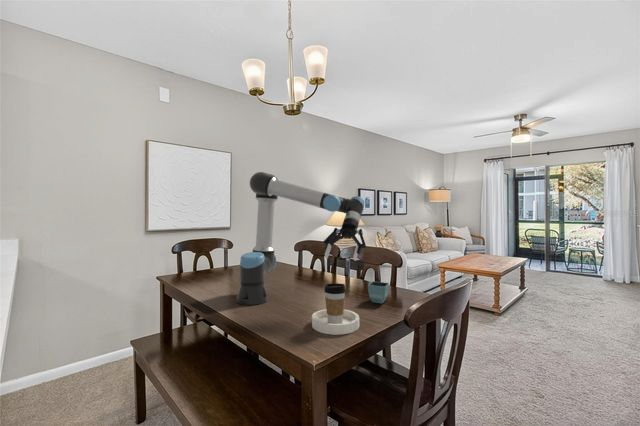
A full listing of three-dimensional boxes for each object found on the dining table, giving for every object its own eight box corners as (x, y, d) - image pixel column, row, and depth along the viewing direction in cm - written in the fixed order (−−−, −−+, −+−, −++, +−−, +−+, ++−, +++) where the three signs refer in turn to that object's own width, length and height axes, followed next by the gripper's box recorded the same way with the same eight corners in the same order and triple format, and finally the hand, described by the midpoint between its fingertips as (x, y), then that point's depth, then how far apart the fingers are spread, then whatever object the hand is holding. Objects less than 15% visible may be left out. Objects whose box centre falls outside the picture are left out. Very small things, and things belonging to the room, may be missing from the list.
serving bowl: (325, 338, 109) (325, 328, 109) (304, 321, 126) (304, 312, 126) (368, 329, 118) (368, 320, 118) (343, 314, 134) (343, 306, 134)
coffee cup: (339, 328, 116) (339, 288, 116) (320, 323, 121) (320, 285, 120) (349, 321, 123) (349, 283, 123) (331, 317, 128) (331, 281, 128)
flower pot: (389, 300, 154) (389, 282, 154) (385, 305, 146) (385, 286, 146) (372, 298, 158) (372, 281, 158) (367, 303, 150) (367, 284, 150)
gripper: (377, 228, 148) (368, 265, 135) (329, 226, 159) (317, 260, 146) (375, 217, 143) (365, 254, 130) (325, 216, 154) (312, 250, 141)
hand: (339, 257), depth 138 cm, fingers open, 13 cm apart
